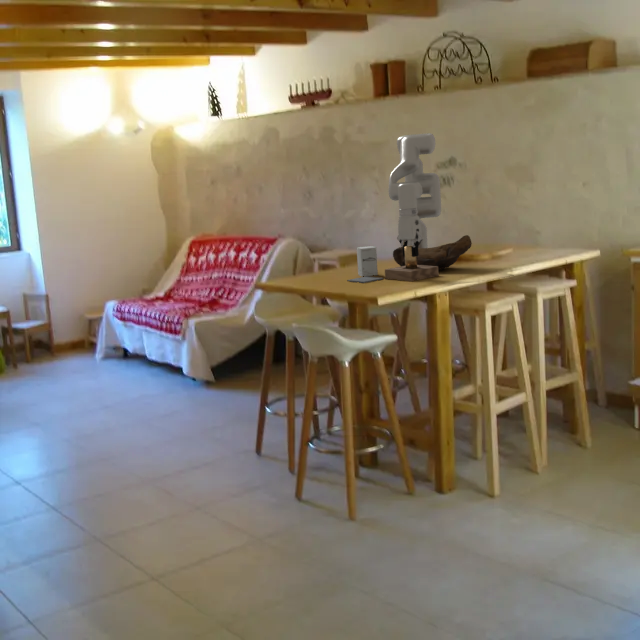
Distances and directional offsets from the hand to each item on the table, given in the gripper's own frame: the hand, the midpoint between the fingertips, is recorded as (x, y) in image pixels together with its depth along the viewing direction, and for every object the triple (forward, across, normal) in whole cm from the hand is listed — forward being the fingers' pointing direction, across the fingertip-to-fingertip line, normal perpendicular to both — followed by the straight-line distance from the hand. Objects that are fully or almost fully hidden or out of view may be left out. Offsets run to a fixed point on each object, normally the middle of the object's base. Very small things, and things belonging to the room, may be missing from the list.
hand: (410, 255), depth 349 cm
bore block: (+9, 0, 0) cm, 9 cm away
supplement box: (+10, +24, +4) cm, 26 cm away
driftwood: (+10, +8, -20) cm, 23 cm away
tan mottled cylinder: (+6, 0, 0) cm, 6 cm away
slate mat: (+9, +13, +15) cm, 22 cm away
